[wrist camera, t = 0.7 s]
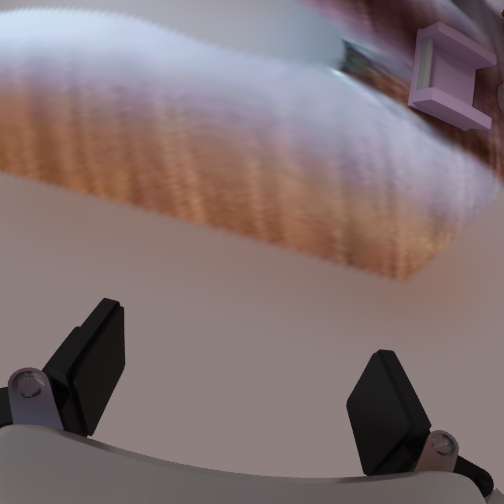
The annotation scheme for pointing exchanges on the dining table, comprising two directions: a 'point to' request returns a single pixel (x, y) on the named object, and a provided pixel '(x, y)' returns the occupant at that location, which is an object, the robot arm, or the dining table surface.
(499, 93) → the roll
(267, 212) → the dining table surface
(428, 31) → the holder
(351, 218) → the dining table surface
